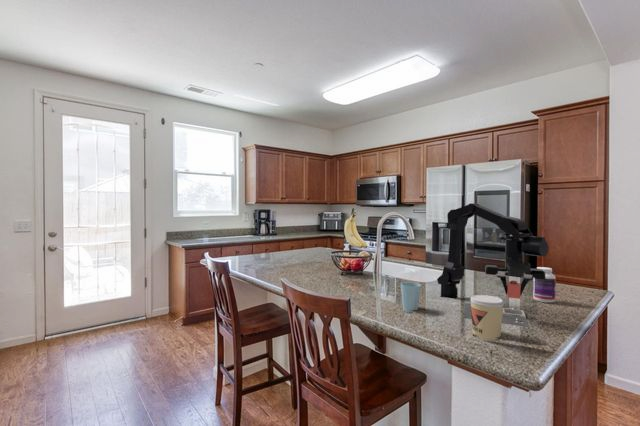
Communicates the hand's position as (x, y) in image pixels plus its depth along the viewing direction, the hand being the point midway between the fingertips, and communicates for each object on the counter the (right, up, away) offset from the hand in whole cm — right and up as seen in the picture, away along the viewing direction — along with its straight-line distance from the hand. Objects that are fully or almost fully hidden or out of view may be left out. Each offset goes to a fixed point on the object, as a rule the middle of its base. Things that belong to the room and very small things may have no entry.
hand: (513, 294), depth 120 cm
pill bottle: (+27, -8, +22) cm, 36 cm away
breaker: (-4, -6, +8) cm, 11 cm away
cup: (-36, -8, +7) cm, 38 cm away
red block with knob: (0, -1, 0) cm, 1 cm away
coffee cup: (-19, -9, -18) cm, 28 cm away
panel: (-7, -8, +1) cm, 11 cm away
